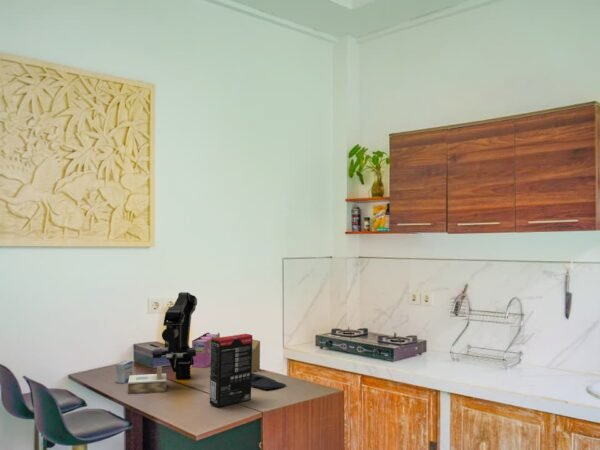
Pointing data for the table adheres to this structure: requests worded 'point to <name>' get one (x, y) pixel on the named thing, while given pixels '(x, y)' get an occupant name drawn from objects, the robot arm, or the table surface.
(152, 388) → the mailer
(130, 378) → the lid
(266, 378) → the dark slate chunk
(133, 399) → the table surface
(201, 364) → the gum box
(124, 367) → the medicine box
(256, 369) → the sandwich container
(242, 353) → the graphics card box
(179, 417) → the table surface
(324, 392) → the table surface
